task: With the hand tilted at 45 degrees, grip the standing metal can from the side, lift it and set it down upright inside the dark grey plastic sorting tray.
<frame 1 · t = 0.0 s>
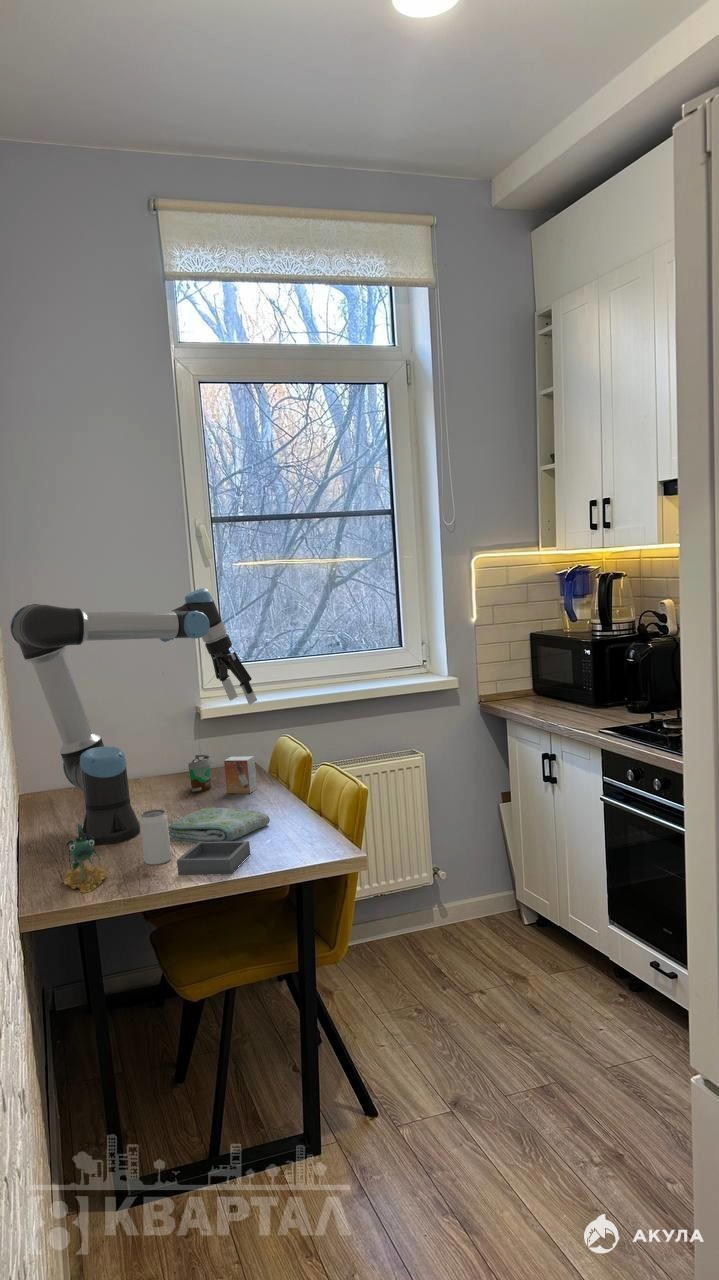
hand: (243, 700, 284), 28 cm above the table, fingers open, 13 cm apart
can: (158, 861, 225), on the table
small box: (242, 792, 285), on the table
sorting tray: (215, 864, 219), on the table
food container: (204, 789, 293), on the table
towel: (218, 834, 245), on the table
frog figurine: (86, 881, 216), on the table
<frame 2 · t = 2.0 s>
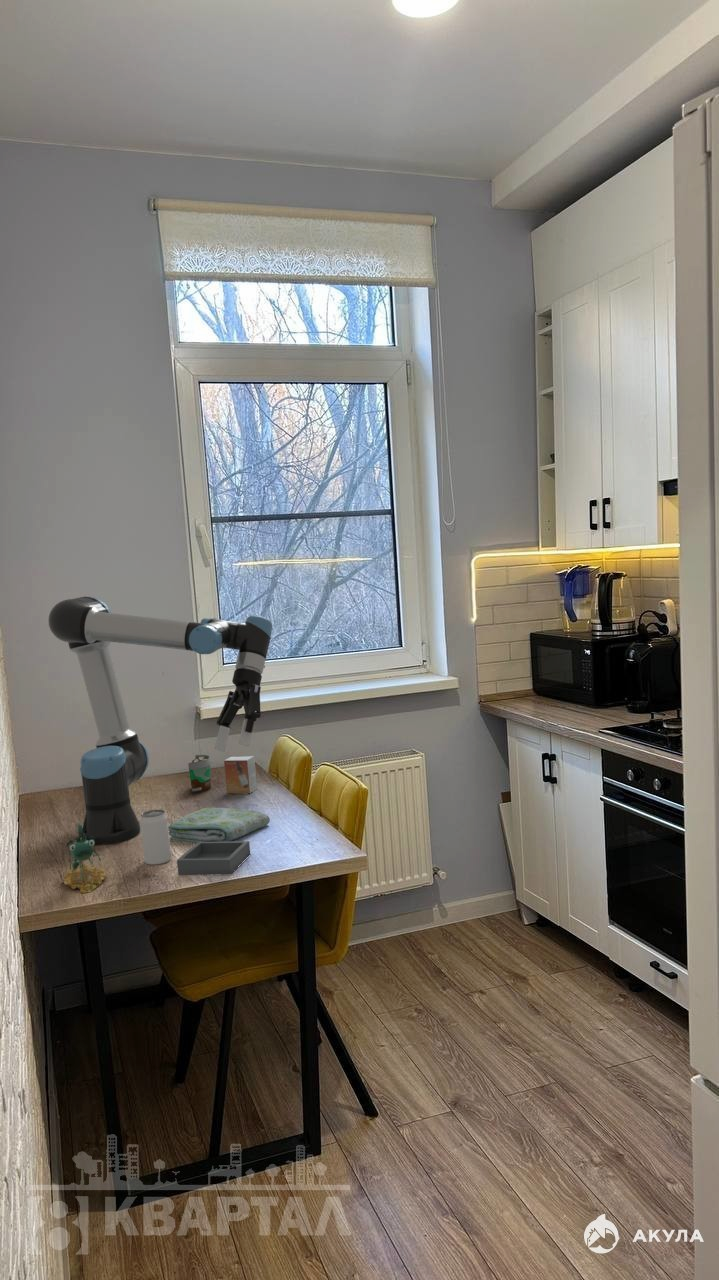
hand: (231, 747, 243), 22 cm above the table, fingers open, 13 cm apart
nothing on the table moved.
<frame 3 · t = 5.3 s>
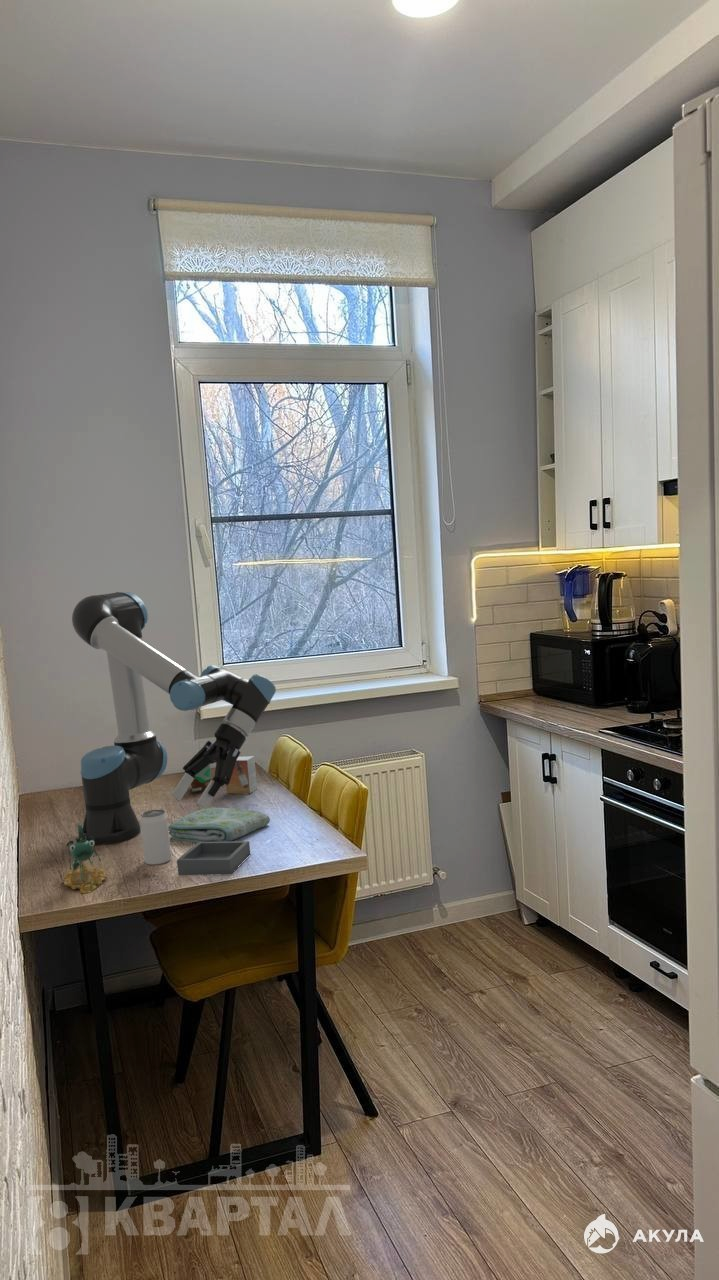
hand: (188, 801, 229), 13 cm above the table, fingers open, 13 cm apart
nothing on the table moved.
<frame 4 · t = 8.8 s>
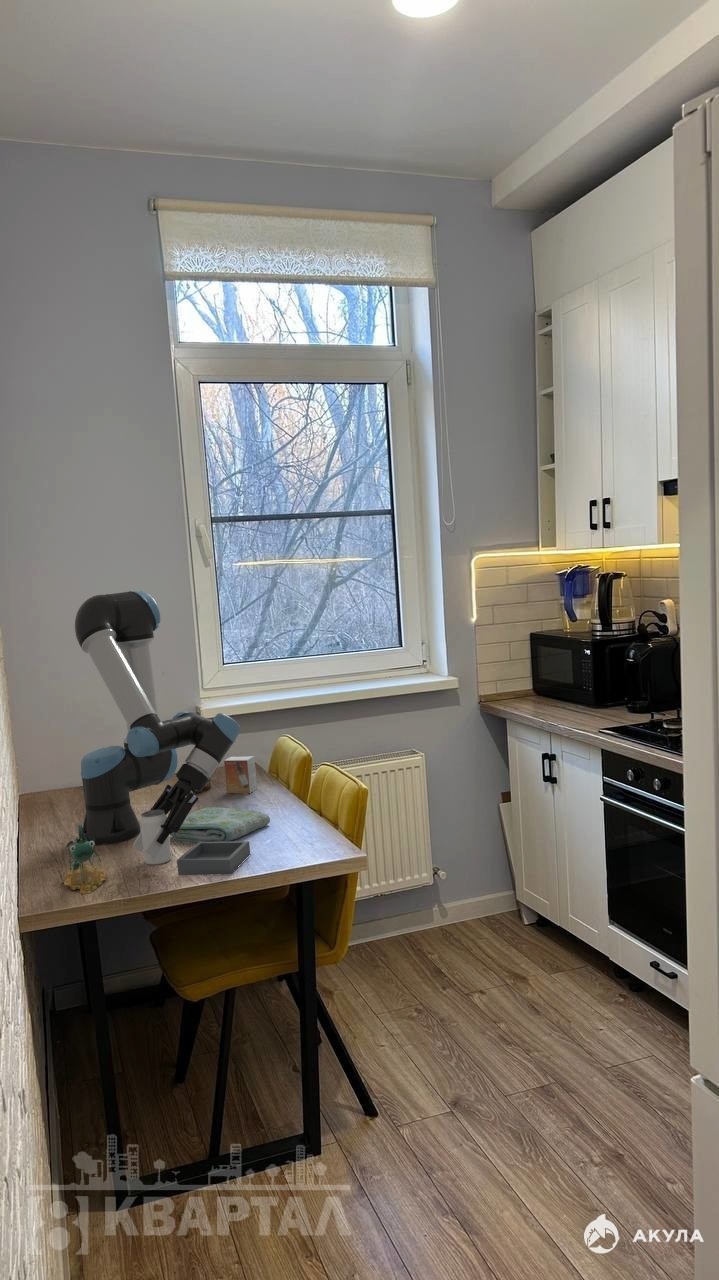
hand: (143, 851, 223), 3 cm above the table, fingers closed on can, 6 cm apart
can: (158, 861, 225), on the table, touching gripper
everything else where it was.
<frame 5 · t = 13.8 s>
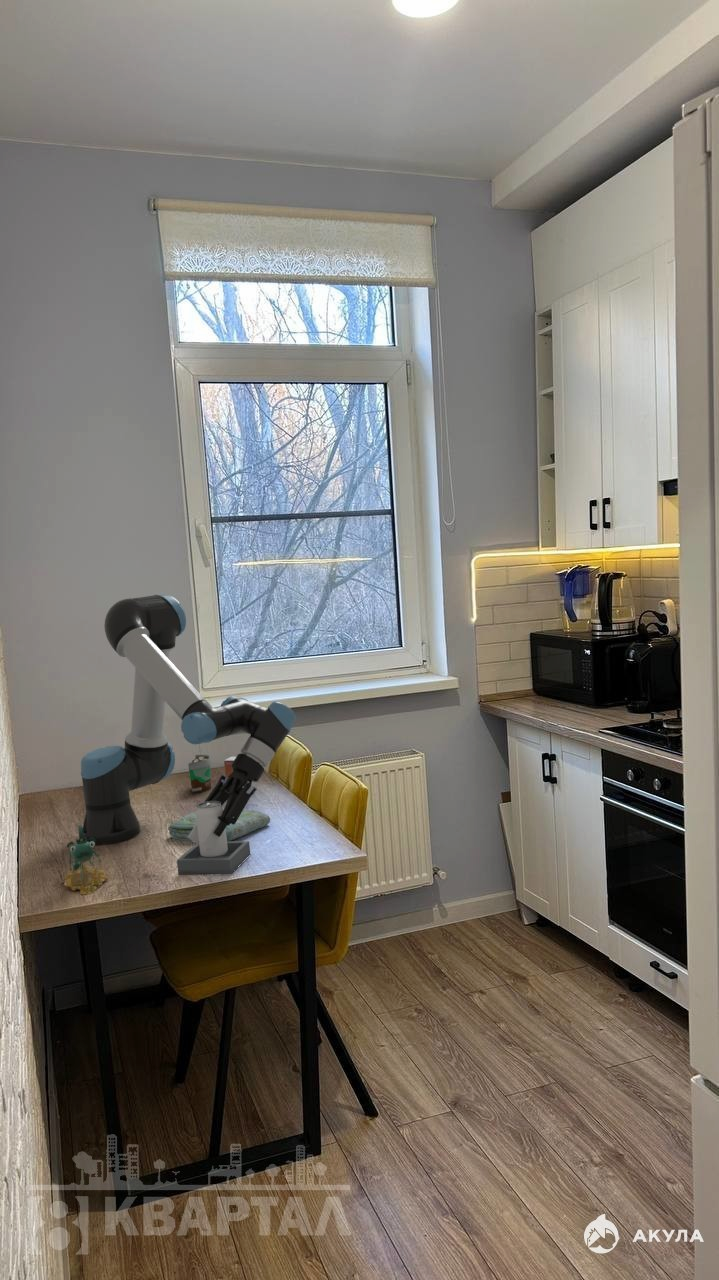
hand: (199, 843, 216), 6 cm above the table, fingers closed on can, 6 cm apart
can: (214, 854, 218), point 3 cm above the table, touching gripper
when the fingers open (6 cm above the table, at t = 14.6 s): can drops 1 cm, resting on sorting tray.
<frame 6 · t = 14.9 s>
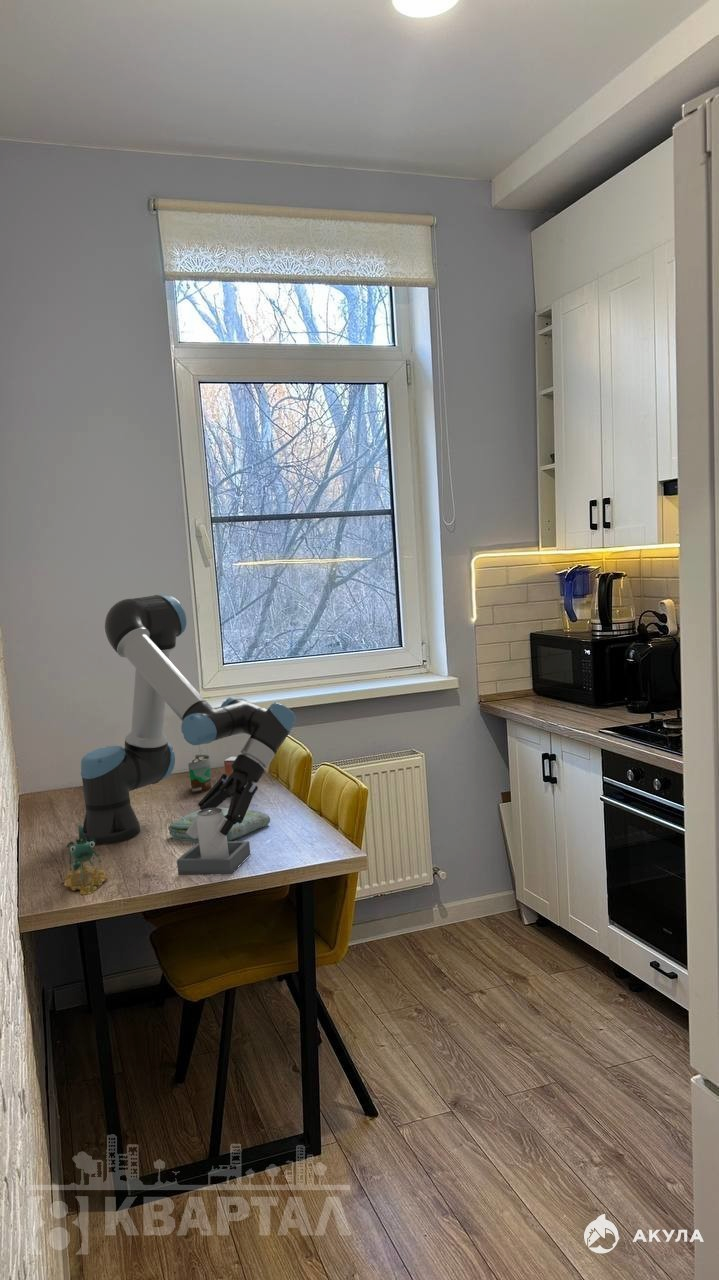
hand: (201, 840, 216), 7 cm above the table, fingers open, 10 cm apart
can: (215, 861, 218), point 1 cm above the table, touching sorting tray
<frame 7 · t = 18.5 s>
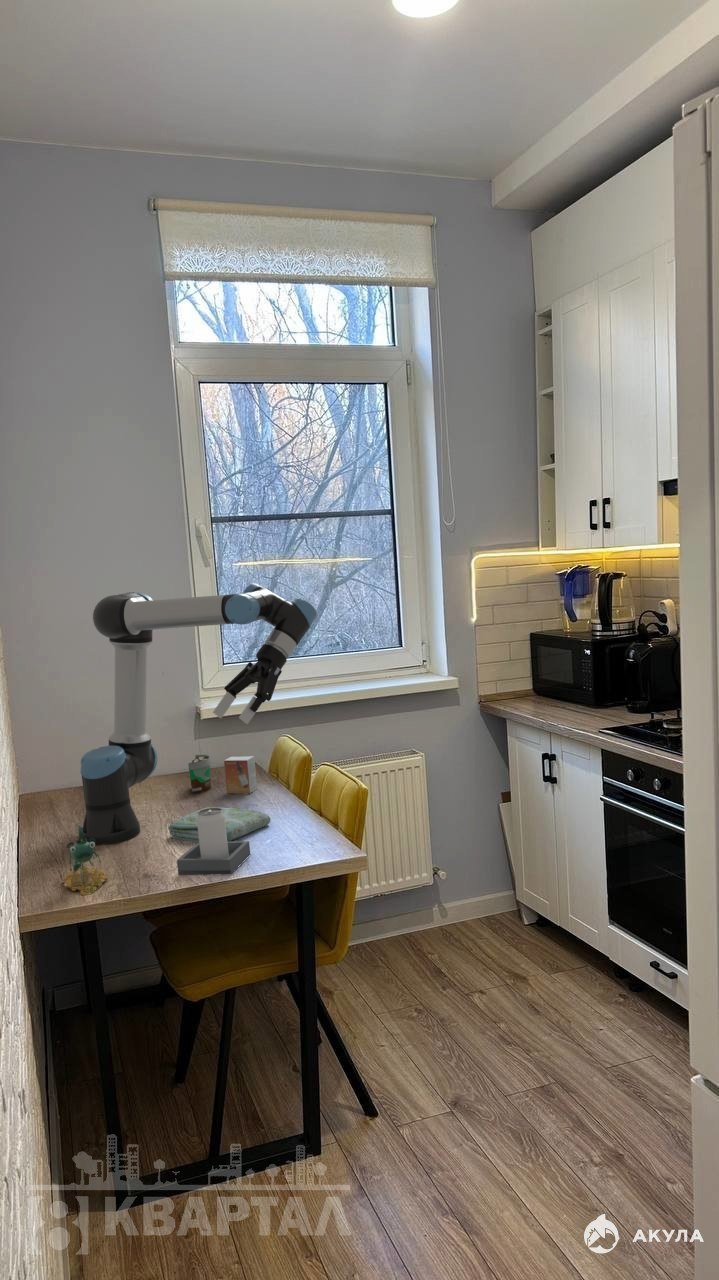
hand: (229, 718, 233), 31 cm above the table, fingers open, 13 cm apart
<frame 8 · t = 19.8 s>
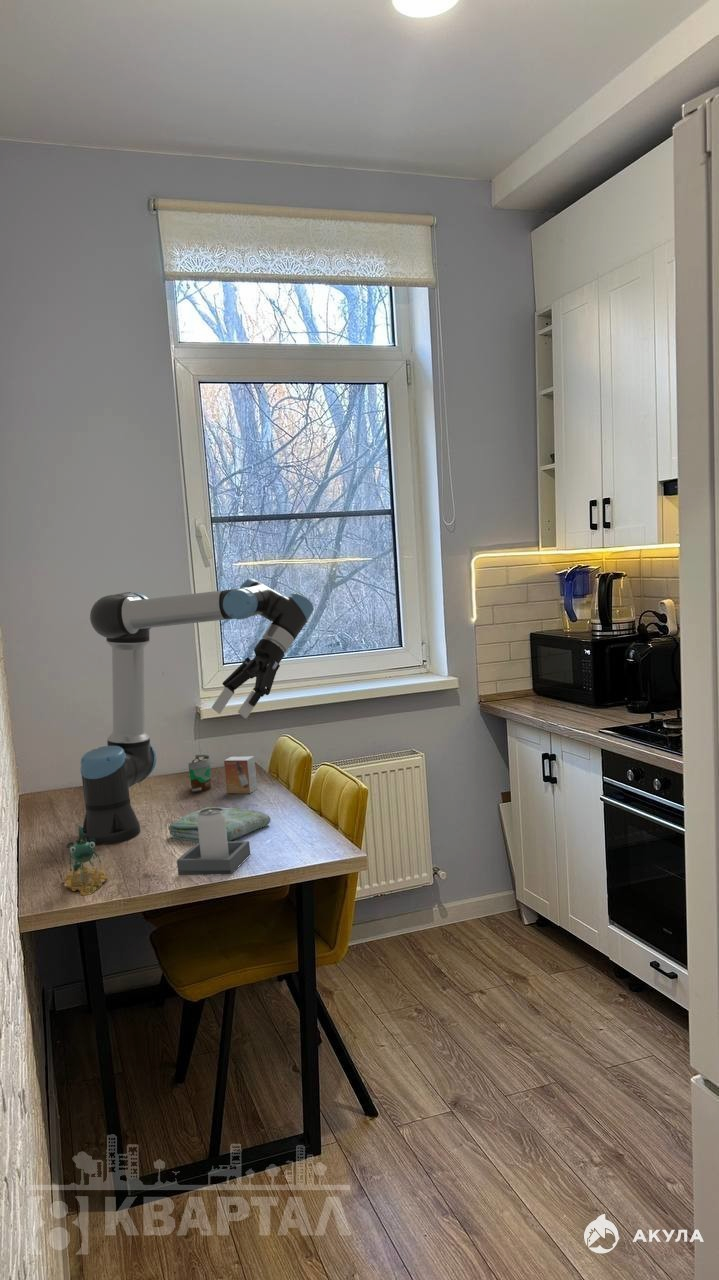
hand: (228, 713, 234), 33 cm above the table, fingers open, 13 cm apart
at the end: can inside the target area on the sorting tray (0.2 cm from its centre), point 0.8 cm above the sorting tray's base; can tilted 0°; the gripper is holding nothing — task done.
